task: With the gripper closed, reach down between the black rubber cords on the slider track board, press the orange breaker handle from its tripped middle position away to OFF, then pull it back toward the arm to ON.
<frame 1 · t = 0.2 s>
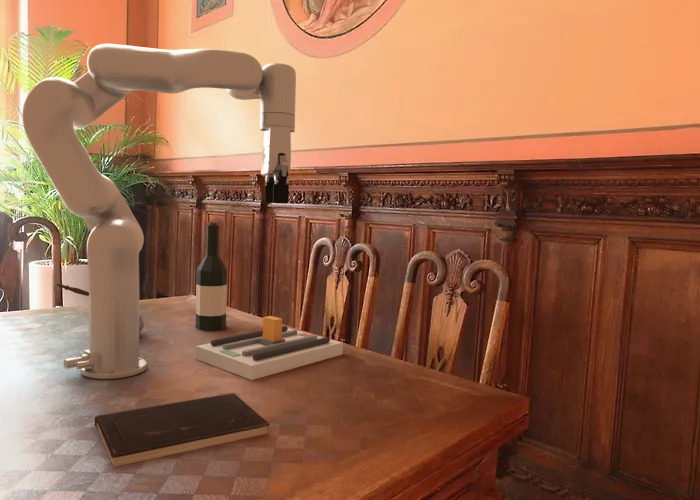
hand: (276, 203, 118), 36 cm above the table, tool pointing down, fingers open, 9 cm apart
hardcover book: (181, 434, 85), on the table
wine bottle: (210, 328, 153), on the table
dressed cords: (271, 341, 126), point 3 cm above the table
slider track board: (271, 356, 127), on the table
coffee pot: (100, 339, 136), on the table
breaker handle: (272, 330, 126), point 6 cm above the table, slide at 0.0 cm
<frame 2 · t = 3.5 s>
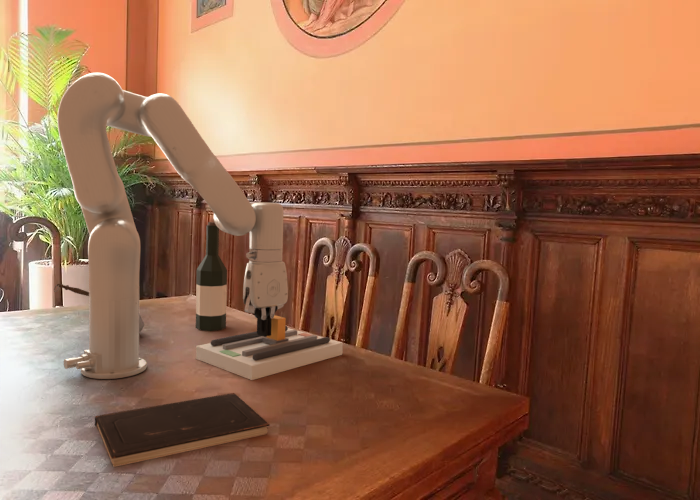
hand: (264, 335, 124), 6 cm above the table, tool pointing down, fingers closed
breaker handle: (275, 329, 127), point 6 cm above the table, slide at 1.1 cm, touching gripper
everything else where it was.
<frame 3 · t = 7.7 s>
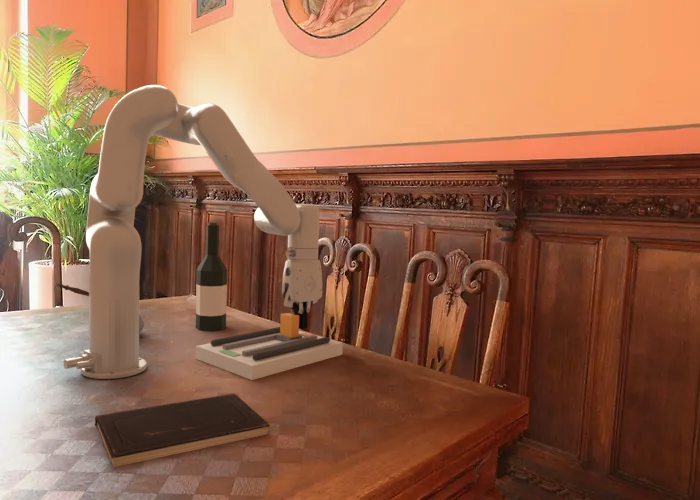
hand: (300, 327, 133), 5 cm above the table, tool pointing down, fingers closed
breaker handle: (289, 327, 130), point 6 cm above the table, slide at 5.5 cm, touching gripper
everything else where it was.
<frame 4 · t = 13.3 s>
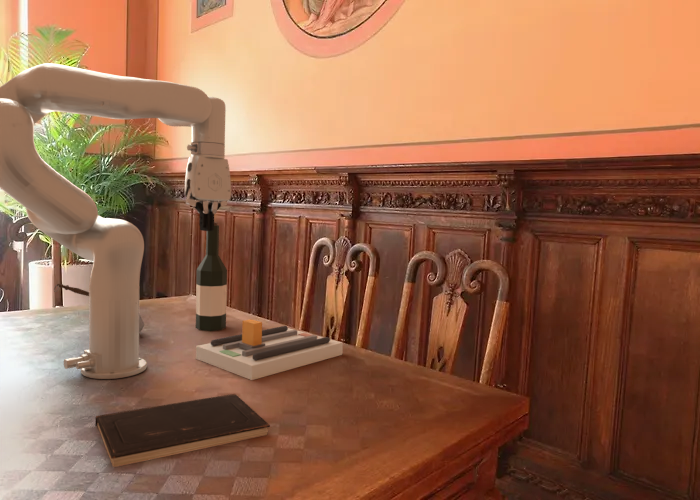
hand: (206, 230, 126), 29 cm above the table, tool pointing down, fingers closed
breaker handle: (251, 334, 122), point 6 cm above the table, slide at -6.1 cm
everything else where it was.
at the end: breaker handle slide at -6.1 cm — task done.
